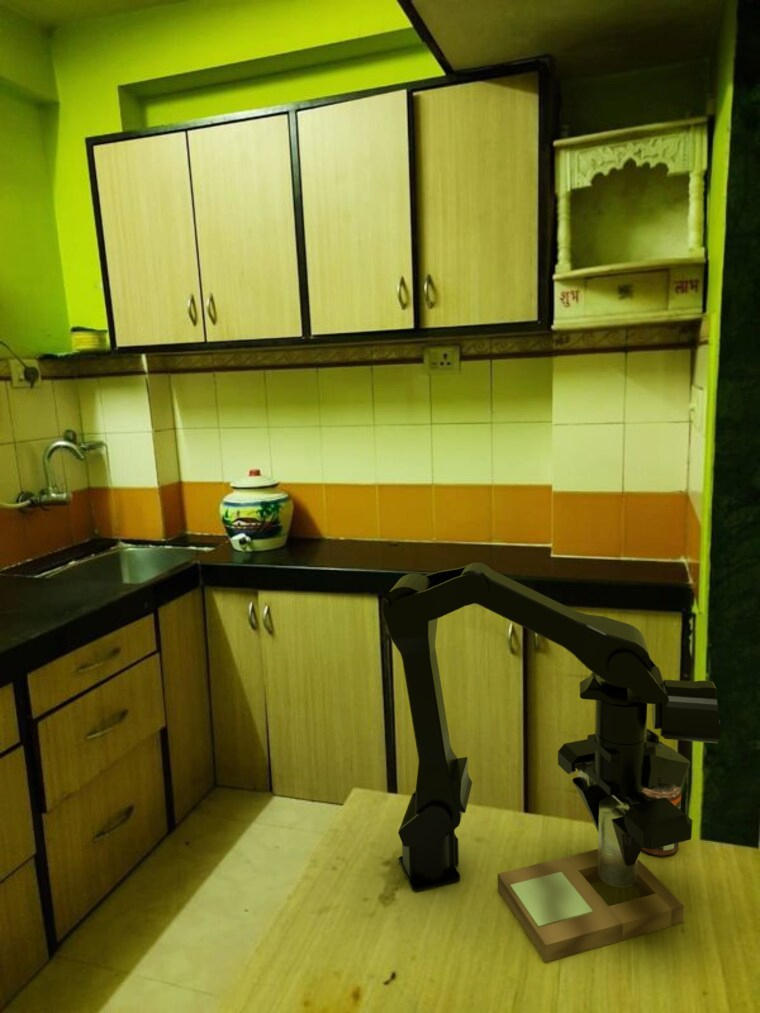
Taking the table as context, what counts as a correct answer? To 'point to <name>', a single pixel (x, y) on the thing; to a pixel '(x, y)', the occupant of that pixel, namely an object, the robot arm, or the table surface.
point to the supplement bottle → (674, 797)
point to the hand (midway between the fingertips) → (617, 851)
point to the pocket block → (582, 906)
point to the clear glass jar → (612, 847)
